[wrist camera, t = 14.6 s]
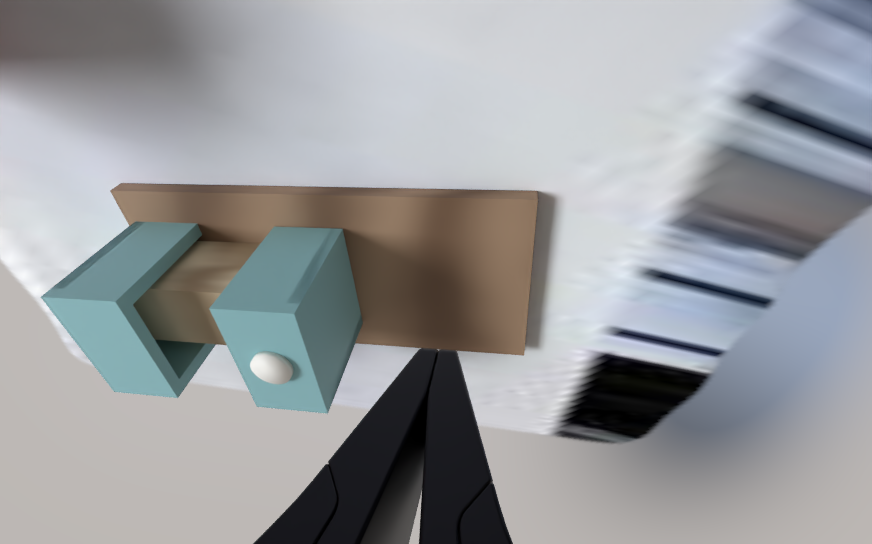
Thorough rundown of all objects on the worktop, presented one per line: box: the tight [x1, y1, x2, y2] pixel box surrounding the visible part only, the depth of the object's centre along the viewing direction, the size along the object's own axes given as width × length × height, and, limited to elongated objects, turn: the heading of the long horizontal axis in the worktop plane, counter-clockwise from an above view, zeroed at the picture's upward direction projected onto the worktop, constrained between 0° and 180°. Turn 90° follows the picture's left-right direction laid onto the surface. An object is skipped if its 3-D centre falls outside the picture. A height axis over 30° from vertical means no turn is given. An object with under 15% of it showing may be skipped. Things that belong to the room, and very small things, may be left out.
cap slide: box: [209, 227, 363, 413], centre depth 22 cm, size 4×6×6 cm, turn 3°
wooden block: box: [133, 241, 261, 345], centre depth 23 cm, size 10×4×4 cm, turn 93°
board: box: [111, 183, 538, 355], centre depth 25 cm, size 21×10×1 cm, turn 93°
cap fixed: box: [41, 221, 216, 398], centre depth 23 cm, size 4×6×6 cm, turn 3°
